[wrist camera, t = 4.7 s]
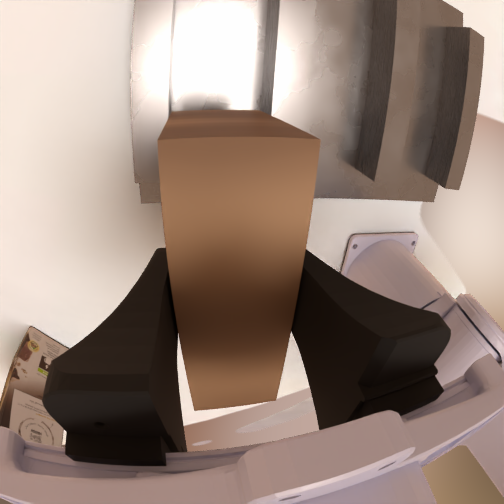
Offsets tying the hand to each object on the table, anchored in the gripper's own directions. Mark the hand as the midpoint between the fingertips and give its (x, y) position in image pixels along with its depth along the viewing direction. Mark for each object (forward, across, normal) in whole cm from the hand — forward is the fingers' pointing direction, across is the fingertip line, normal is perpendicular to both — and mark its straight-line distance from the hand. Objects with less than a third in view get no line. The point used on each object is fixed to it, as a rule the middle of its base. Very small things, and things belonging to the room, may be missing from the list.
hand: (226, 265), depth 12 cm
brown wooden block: (+4, 0, +1) cm, 4 cm away
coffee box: (+10, +20, +18) cm, 29 cm away
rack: (+10, -8, -8) cm, 15 cm away
